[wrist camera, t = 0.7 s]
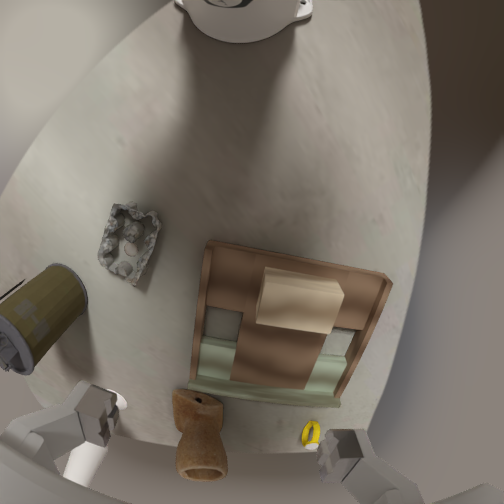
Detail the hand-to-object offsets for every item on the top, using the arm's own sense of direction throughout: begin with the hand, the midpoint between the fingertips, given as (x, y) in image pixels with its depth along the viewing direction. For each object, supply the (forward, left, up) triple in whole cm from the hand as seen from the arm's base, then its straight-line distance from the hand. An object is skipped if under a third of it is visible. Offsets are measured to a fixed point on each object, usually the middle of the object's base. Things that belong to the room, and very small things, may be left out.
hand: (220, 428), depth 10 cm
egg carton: (+6, -16, -32) cm, 36 cm away
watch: (+40, +20, -32) cm, 55 cm away
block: (+8, +8, -30) cm, 32 cm away
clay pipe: (+40, -2, -32) cm, 51 cm away
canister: (+18, -30, -32) cm, 47 cm away
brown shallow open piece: (+16, +8, -32) cm, 36 cm away
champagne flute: (+44, -22, -32) cm, 58 cm away
